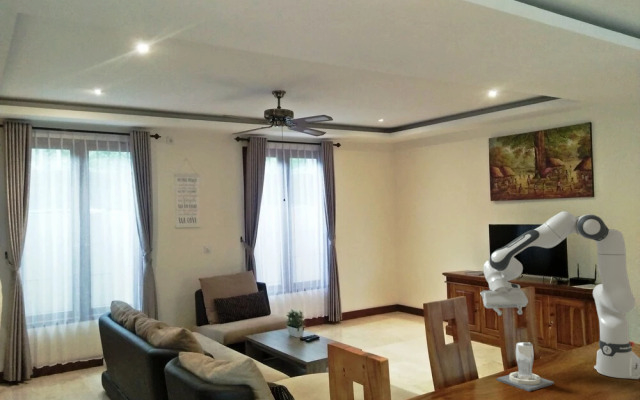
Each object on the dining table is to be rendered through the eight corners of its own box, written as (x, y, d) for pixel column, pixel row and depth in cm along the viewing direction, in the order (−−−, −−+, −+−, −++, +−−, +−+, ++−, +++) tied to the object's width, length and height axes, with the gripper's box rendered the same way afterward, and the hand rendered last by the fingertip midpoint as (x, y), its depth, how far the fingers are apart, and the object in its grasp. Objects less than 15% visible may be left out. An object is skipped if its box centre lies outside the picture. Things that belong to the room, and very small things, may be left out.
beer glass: (514, 377, 212) (513, 342, 213) (530, 376, 212) (529, 341, 213) (520, 382, 205) (519, 346, 206) (536, 382, 205) (535, 346, 206)
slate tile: (521, 373, 219) (521, 368, 220) (553, 384, 206) (553, 378, 206) (496, 380, 211) (496, 374, 211) (529, 391, 198) (528, 385, 198)
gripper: (480, 286, 232) (490, 311, 222) (522, 284, 234) (534, 309, 224) (477, 294, 236) (486, 319, 226) (518, 292, 238) (529, 317, 228)
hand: (510, 314), depth 225 cm, fingers open, 8 cm apart
